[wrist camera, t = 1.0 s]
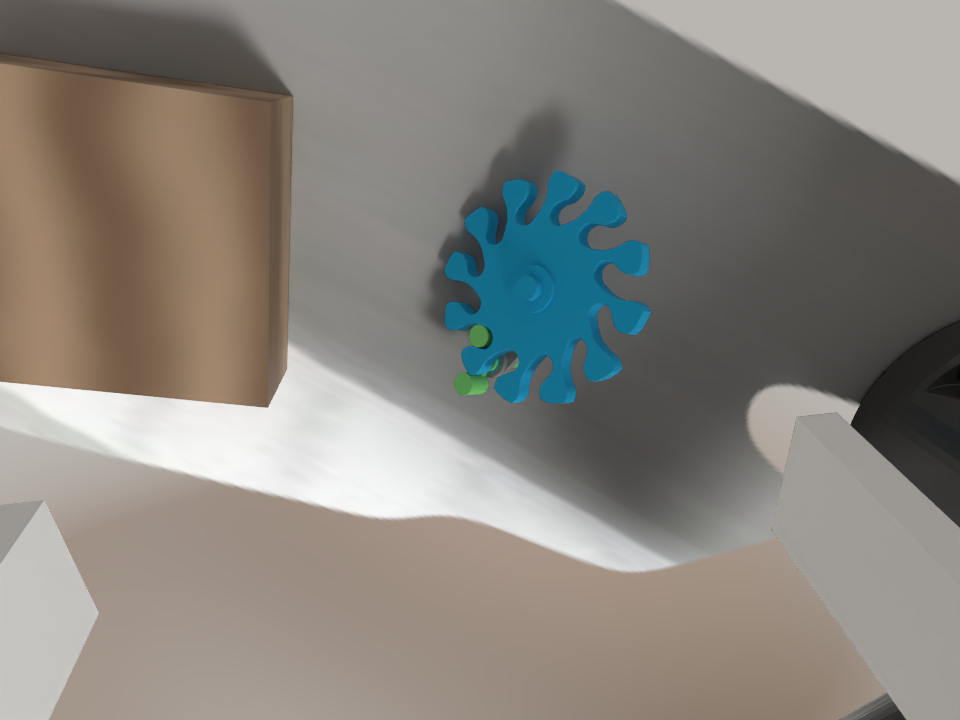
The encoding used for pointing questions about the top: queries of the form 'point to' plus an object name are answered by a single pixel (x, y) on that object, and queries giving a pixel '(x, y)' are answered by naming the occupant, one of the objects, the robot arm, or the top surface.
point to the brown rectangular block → (143, 233)
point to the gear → (542, 292)
